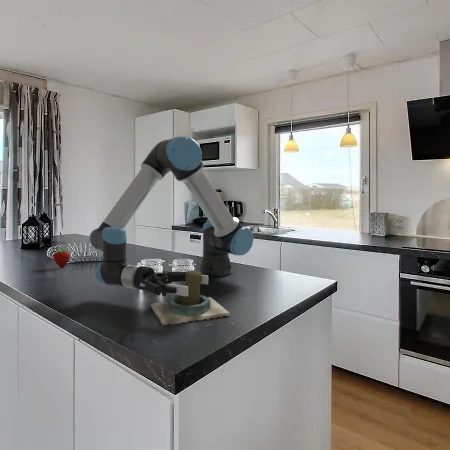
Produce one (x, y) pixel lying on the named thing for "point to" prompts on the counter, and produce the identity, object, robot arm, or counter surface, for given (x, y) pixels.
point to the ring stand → (187, 310)
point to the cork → (192, 288)
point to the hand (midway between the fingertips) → (198, 285)
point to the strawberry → (61, 258)
